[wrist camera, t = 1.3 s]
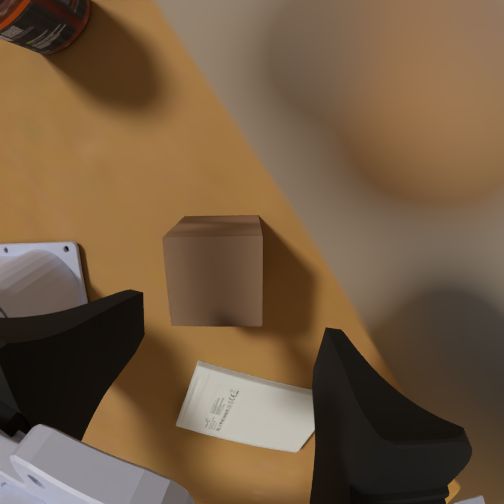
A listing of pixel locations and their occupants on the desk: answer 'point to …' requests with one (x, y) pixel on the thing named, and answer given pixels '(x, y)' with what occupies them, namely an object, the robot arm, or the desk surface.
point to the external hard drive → (247, 409)
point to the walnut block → (215, 271)
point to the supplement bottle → (43, 23)
